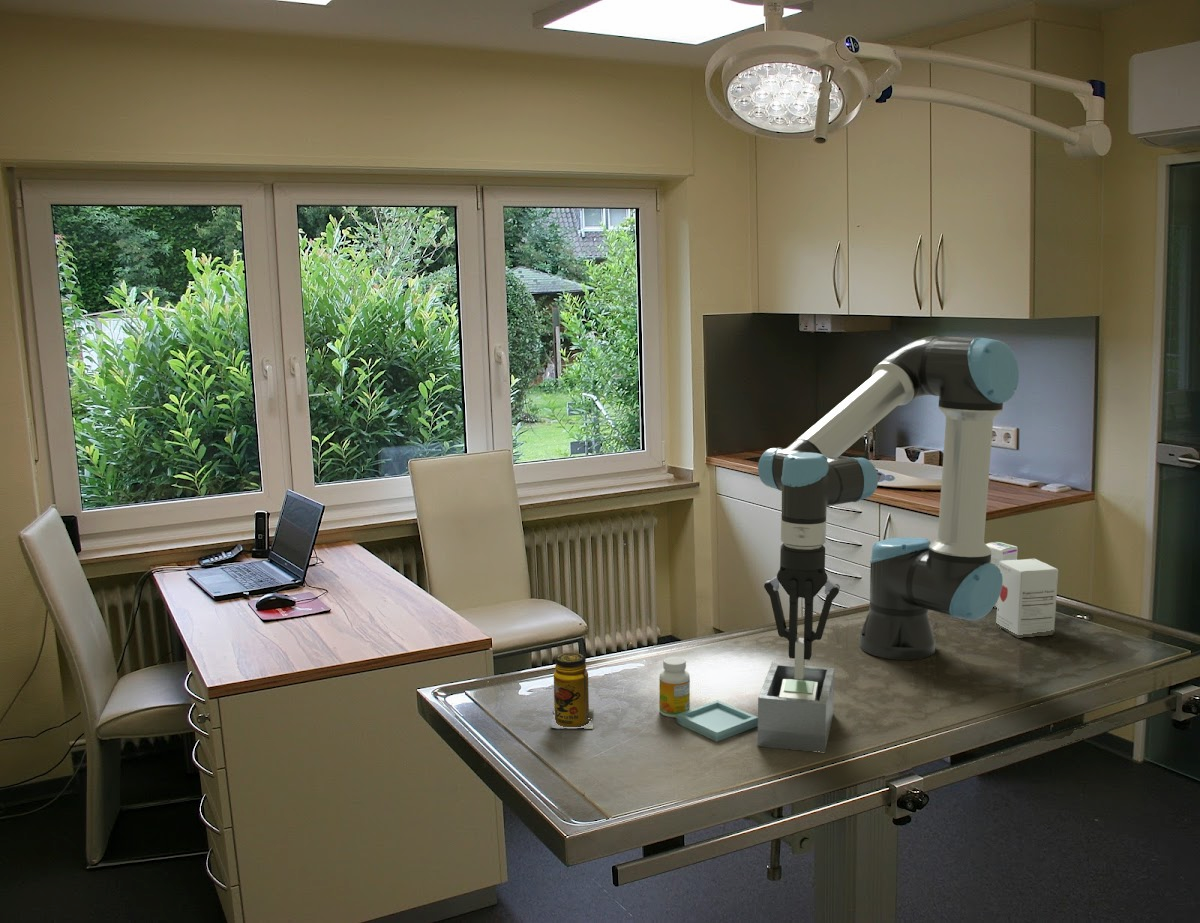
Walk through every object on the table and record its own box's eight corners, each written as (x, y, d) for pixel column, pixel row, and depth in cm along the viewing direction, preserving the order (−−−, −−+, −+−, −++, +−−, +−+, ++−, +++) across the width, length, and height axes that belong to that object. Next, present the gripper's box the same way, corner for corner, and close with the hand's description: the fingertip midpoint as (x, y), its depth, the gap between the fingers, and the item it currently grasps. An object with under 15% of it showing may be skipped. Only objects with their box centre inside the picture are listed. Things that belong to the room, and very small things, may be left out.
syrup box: (1015, 606, 257) (1019, 545, 255) (998, 610, 254) (1001, 549, 252) (995, 600, 262) (999, 540, 260) (978, 604, 259) (981, 543, 257)
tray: (717, 708, 200) (717, 700, 199) (758, 725, 192) (758, 717, 192) (676, 723, 194) (676, 714, 193) (717, 741, 186) (717, 732, 186)
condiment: (550, 730, 191) (549, 664, 189) (553, 710, 200) (552, 647, 198) (593, 730, 191) (592, 663, 189) (593, 710, 200) (593, 646, 197)
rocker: (780, 687, 195) (780, 677, 194) (820, 691, 193) (820, 681, 192) (773, 719, 187) (773, 709, 186) (814, 723, 185) (814, 713, 184)
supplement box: (994, 625, 244) (997, 559, 241) (1031, 623, 245) (1035, 557, 243) (1016, 639, 235) (1020, 570, 232) (1055, 636, 237) (1059, 568, 234)
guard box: (771, 707, 200) (772, 662, 199) (833, 713, 197) (834, 668, 196) (757, 746, 184) (758, 697, 183) (824, 753, 181) (826, 704, 179)
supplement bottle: (654, 708, 200) (654, 657, 198) (681, 704, 202) (681, 653, 200) (666, 720, 195) (666, 667, 193) (694, 715, 197) (694, 663, 195)
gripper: (761, 546, 187) (758, 680, 191) (840, 551, 183) (836, 687, 187) (767, 536, 194) (764, 665, 198) (843, 541, 190) (839, 672, 194)
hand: (799, 676), depth 193 cm, fingers closed
